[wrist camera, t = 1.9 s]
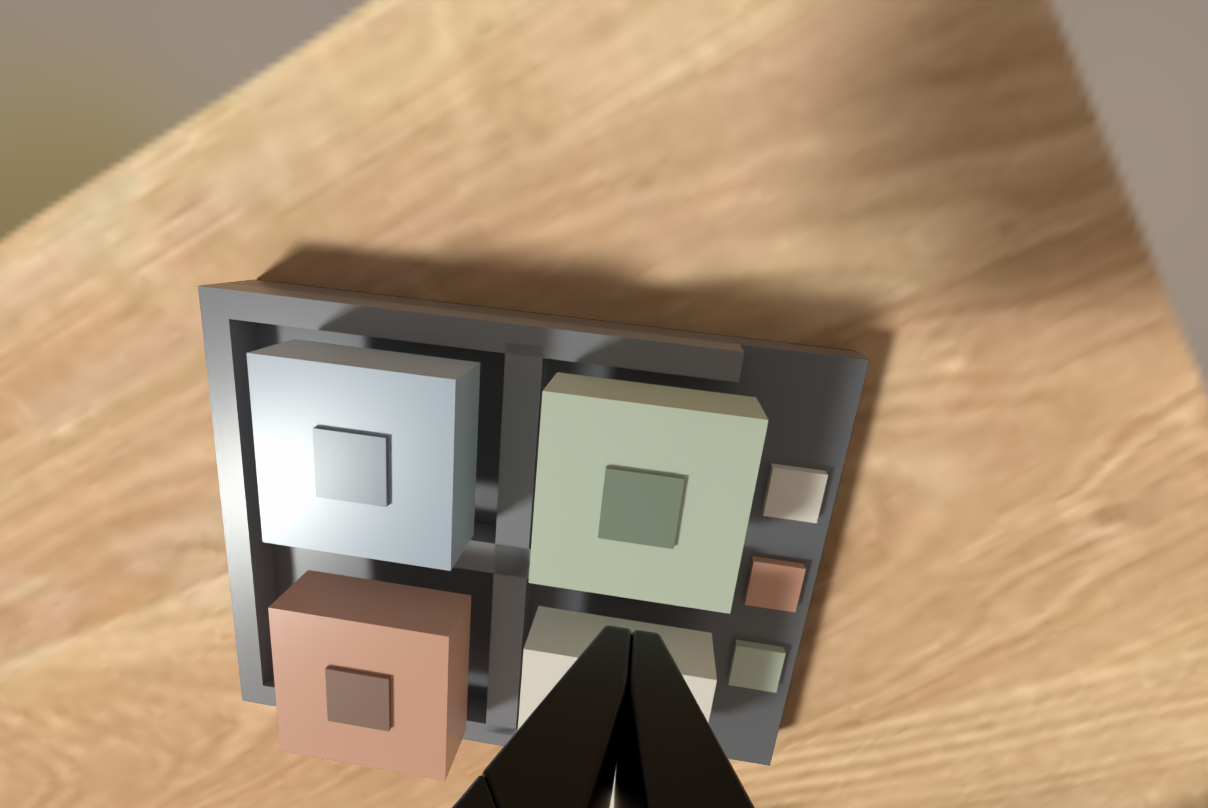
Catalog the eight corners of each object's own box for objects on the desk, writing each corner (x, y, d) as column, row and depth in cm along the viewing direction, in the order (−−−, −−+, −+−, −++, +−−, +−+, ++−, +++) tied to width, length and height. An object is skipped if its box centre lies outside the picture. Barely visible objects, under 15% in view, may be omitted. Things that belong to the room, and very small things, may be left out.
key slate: (480, 362, 15) (453, 380, 13) (473, 535, 16) (448, 573, 14) (295, 339, 15) (242, 353, 13) (304, 509, 16) (259, 544, 15)
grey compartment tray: (855, 351, 16) (883, 368, 14) (763, 735, 20) (775, 793, 18) (254, 279, 17) (197, 285, 15) (283, 655, 22) (242, 700, 19)
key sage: (756, 397, 14) (769, 421, 12) (722, 571, 16) (730, 617, 14) (557, 372, 14) (541, 392, 13) (543, 545, 16) (527, 585, 14)
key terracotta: (471, 595, 17) (447, 639, 15) (466, 729, 18) (443, 784, 16) (308, 569, 17) (265, 610, 15) (316, 703, 18) (277, 755, 17)
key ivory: (711, 633, 16) (717, 683, 14) (686, 767, 18) (688, 828, 16) (538, 605, 17) (522, 652, 15) (527, 739, 18) (511, 797, 16)
